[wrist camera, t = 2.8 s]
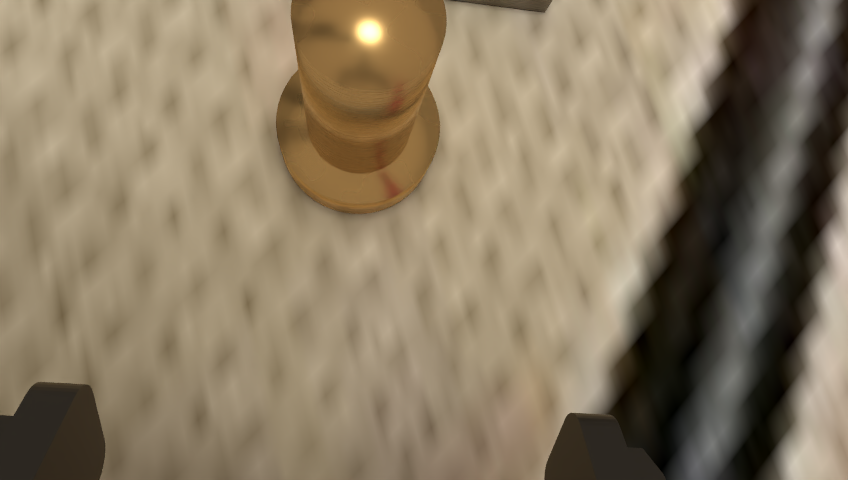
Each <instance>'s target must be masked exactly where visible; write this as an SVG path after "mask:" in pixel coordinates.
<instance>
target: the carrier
mask: <svg viewBox="0 0 848 480" xmlns="http://www.w3.org/2000/svg"><path fill="white" fill-rule="evenodd" d="M456 1H464V2H471V3H479V4H487V5H494V6H502V7H510V8H517V9H525V10H532V11H540V12H545V11H546V10H547V8H548V6H549V5H550V3H551V2H552V0H456Z"/></svg>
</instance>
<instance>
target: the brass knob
mask: <svg viewBox="0 0 848 480" xmlns="http://www.w3.org/2000/svg"><path fill="white" fill-rule="evenodd" d="M291 21H292V29H293V35H294V42H295V49H296V56H297V62H298V71H297V72H296V73H295V74H294V75H293V76H292V77H291V79H290V80H289V82H288V83H287V85H286V87H285V89H284V91H283V93H282V95H281V98H280V101H279V104H278V109H277V116H276V128H277V136H278V141H279V145H280V148H281V151H282V155H283V158H284V161H285V164H286V166H287V169H288V171H289V173H290V174H291V176H292V178H293V179H294V181H295V182H296V183H297V185H298V186H299V187H300V188H301V189H302V190H303V191H304V192H305V193H306V194H307V195H308V196H309V197H311V198H312V199H313V200H315V201H316V202H318V203H320V204H322V205H323V206H326V207H328V208H330V209H333V210H337V211H340V212H345V213H353V214H364V213H372V212H377V211H381V210H384V209H386V208H389V207H391V206H393V205H395V204H397V203H399V202H400V201H401V200H403V199H404V198H406V197H407V196H408V195H409V194H410V193H411V192H412V191H413V190H414V189H415V188H416V187H417V185H418V184H419V183H420V181H421V180H422V178H423V176H424V175H425V173H426V171H427V169H428V167H429V165H430V163H431V161H432V159H433V157H434V155H435V152H436V149H437V145H438V141H439V133H440V121H439V114H438V109H437V106H436V102H435V100H434V97H433V95H432V93H431V91H430V89H429V87H428V84H429V81H430V78H431V75H432V72H433V69H434V67H435V64H436V61H437V58H438V55H439V53H440V50H441V47H442V44H443V41H444V37H445V33H446V10H445V5H444V1H443V0H292V4H291Z"/></svg>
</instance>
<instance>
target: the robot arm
mask: <svg viewBox="0 0 848 480" xmlns="http://www.w3.org/2000/svg"><path fill="white" fill-rule="evenodd" d="M104 458H105V440H104V435H103V431H102V427H101V423H100V419H99V415H98V411H97V407H96V403H95V399H94V395H93V391H92V389H91V387H90V386H89V385H85V384H67V383H49V382H38V383H36V384H34V385H33V386H32V387H31V388H30V389H29V391H28V392H27V394H26V395H25V397H24V399H23V401H22V402H21V404H20V406H19V407H18V409H17V411H16V413H15V414H14V416H3V415H0V480H99V479H100V476H101V473H102V469H103V464H104ZM545 480H666V479H665V477H664V475H663V473H662V472H661V471H660V470H659V468H658V467H657V466H656V465H655V463H654V462H653V461H652V460H651V458H650V457H649V456H648V455H647V454H646V452H645V451H644V450H643V449H642V448H627V446H626V443H625V440H624V437H623V434H622V432H621V429H620V426H619V424H618V422H617V420H616V419H615V417H613V416H612V415H602V414H584V413H569V414H568V415H567V416H566V418H565V421H564V423H563V425H562V428H561V430H560V433H559V435H558V437H557V440H556V442H555V444H554V447H553V449H552V451H551V454H550V456H549V459H548V461H547V464H546V469H545Z"/></svg>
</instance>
